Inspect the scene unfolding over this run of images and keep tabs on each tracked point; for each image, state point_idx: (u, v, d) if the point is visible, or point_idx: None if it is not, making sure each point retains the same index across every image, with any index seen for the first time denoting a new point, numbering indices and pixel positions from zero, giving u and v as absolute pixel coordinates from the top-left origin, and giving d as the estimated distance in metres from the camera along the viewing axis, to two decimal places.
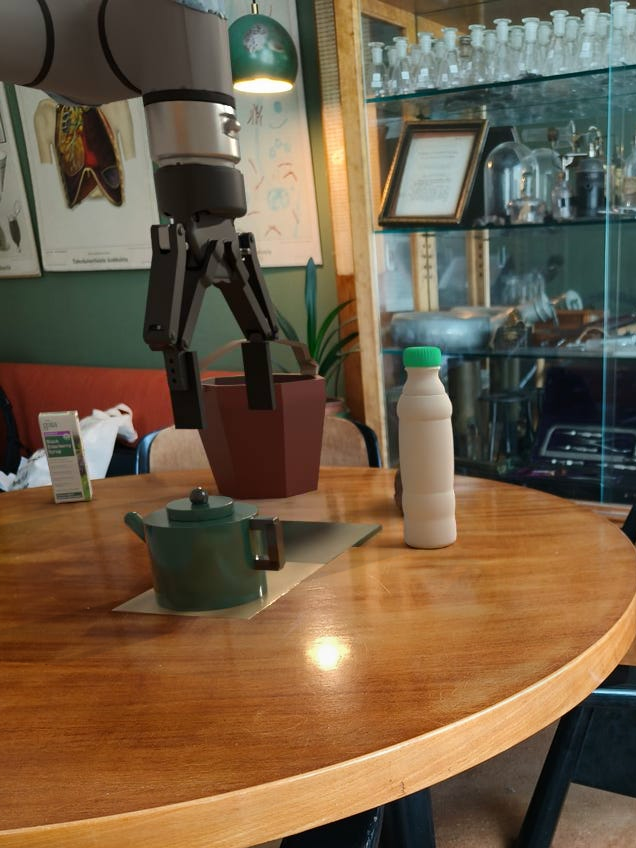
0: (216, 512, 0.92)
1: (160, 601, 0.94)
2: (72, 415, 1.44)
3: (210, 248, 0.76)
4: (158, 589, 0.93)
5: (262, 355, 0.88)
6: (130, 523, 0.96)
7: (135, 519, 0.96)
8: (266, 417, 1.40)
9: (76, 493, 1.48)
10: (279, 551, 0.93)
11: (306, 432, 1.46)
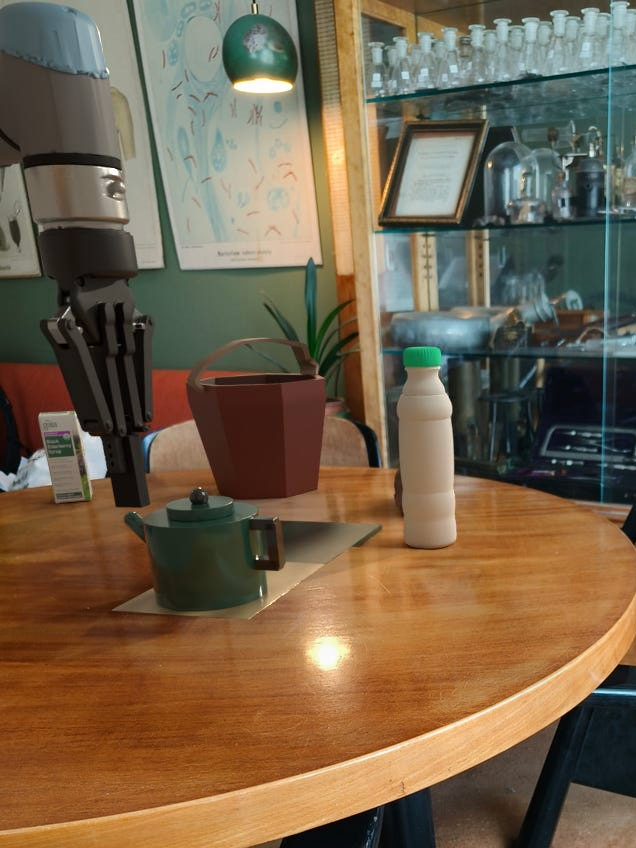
0: (216, 512, 0.92)
1: (160, 601, 0.94)
2: (72, 415, 1.44)
3: (101, 318, 0.75)
4: (158, 589, 0.93)
5: None
6: (130, 523, 0.96)
7: (135, 519, 0.96)
8: (266, 417, 1.40)
9: (76, 493, 1.48)
10: (279, 551, 0.93)
11: (306, 432, 1.46)
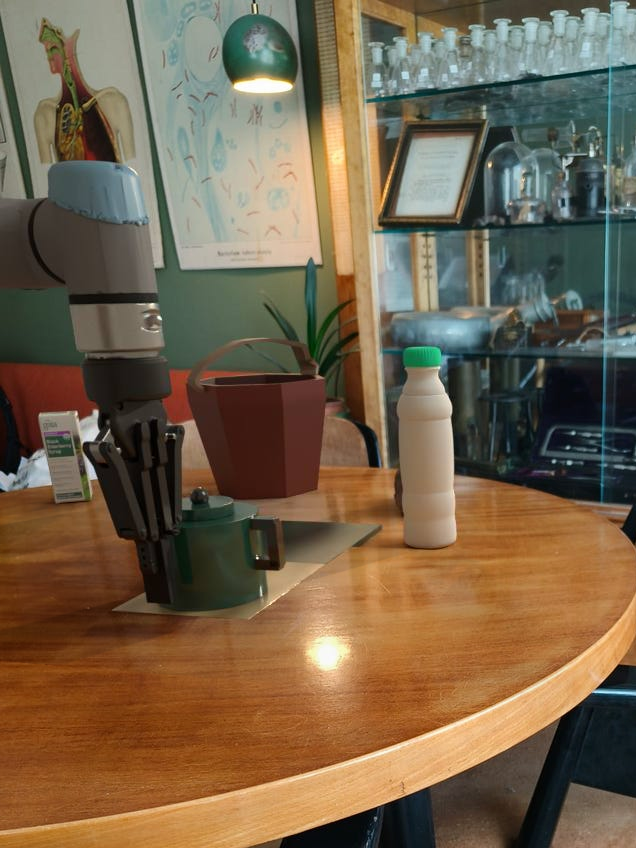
0: (216, 512, 0.92)
1: None
2: (72, 415, 1.44)
3: (137, 437, 0.81)
4: None
5: None
6: None
7: None
8: (266, 417, 1.40)
9: (76, 493, 1.48)
10: (279, 551, 0.93)
11: (306, 432, 1.46)
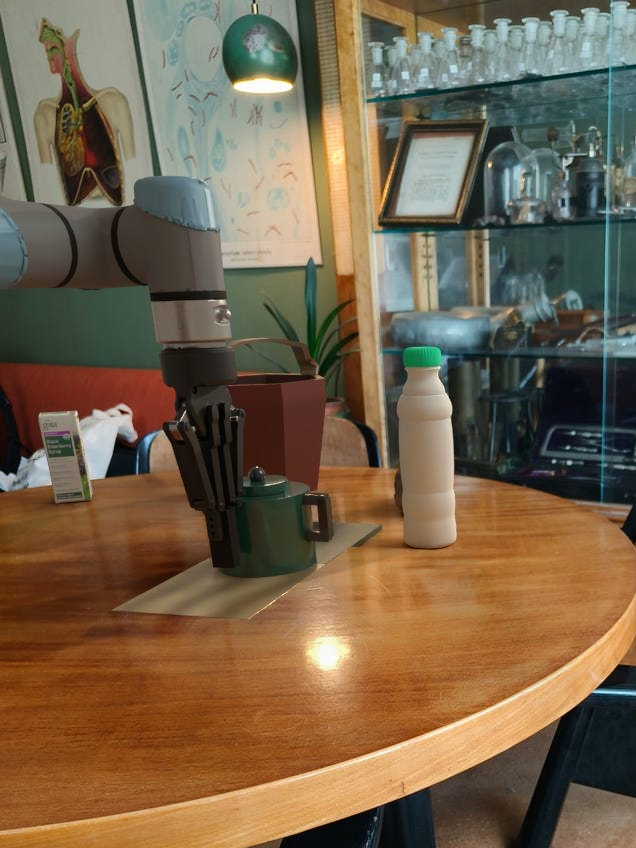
0: (273, 488, 1.02)
1: (222, 568, 1.04)
2: (72, 415, 1.44)
3: (208, 418, 0.91)
4: None
5: None
6: None
7: None
8: (266, 417, 1.40)
9: (76, 493, 1.48)
10: (329, 524, 1.04)
11: (306, 432, 1.46)
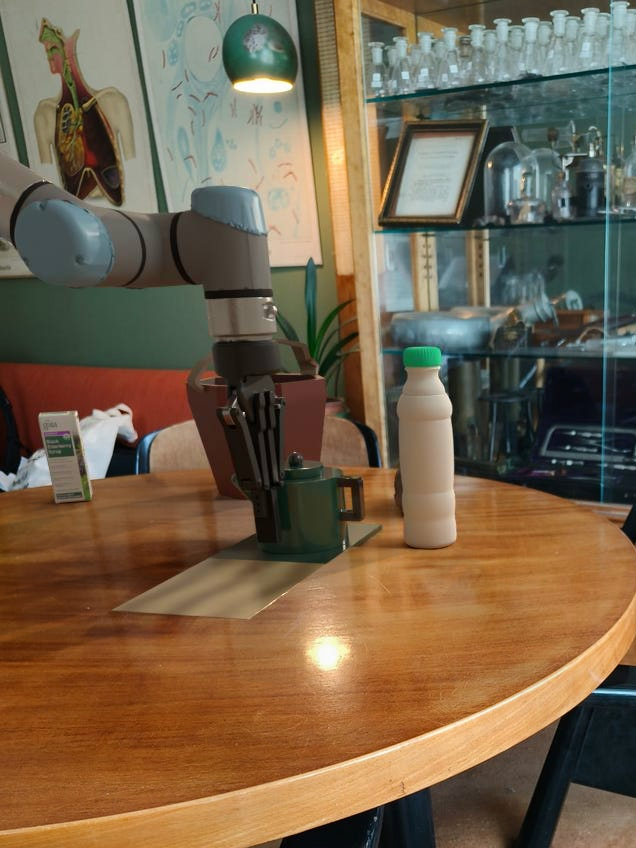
0: (310, 472, 1.12)
1: (263, 545, 1.13)
2: (72, 415, 1.44)
3: (256, 405, 1.01)
4: None
5: None
6: (237, 482, 1.16)
7: None
8: None
9: (76, 493, 1.48)
10: (361, 505, 1.13)
11: (306, 432, 1.46)
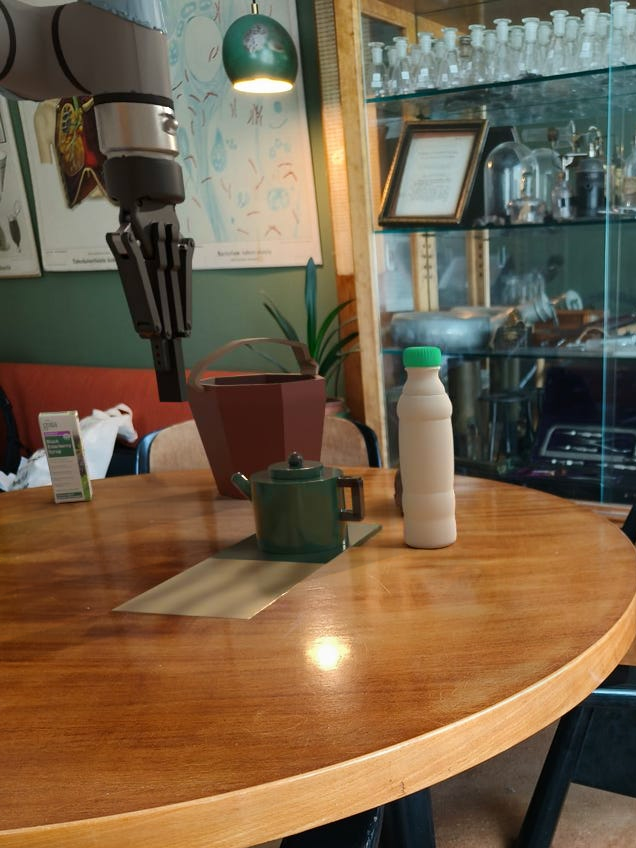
0: (310, 472, 1.12)
1: (263, 545, 1.13)
2: (72, 415, 1.44)
3: (154, 235, 0.89)
4: (262, 536, 1.13)
5: None
6: (237, 482, 1.16)
7: (241, 479, 1.16)
8: (266, 417, 1.40)
9: (76, 493, 1.48)
10: (361, 505, 1.13)
11: (306, 432, 1.46)
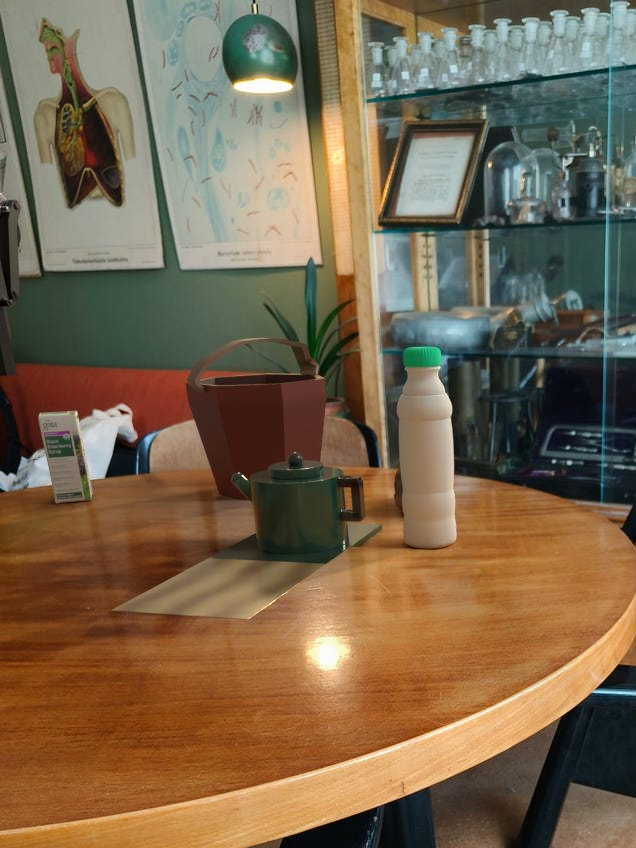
0: (310, 472, 1.12)
1: (263, 545, 1.13)
2: (72, 415, 1.44)
3: None
4: (262, 536, 1.13)
5: None
6: (237, 482, 1.16)
7: (241, 479, 1.16)
8: (266, 417, 1.40)
9: (76, 493, 1.48)
10: (361, 505, 1.13)
11: (306, 432, 1.46)
